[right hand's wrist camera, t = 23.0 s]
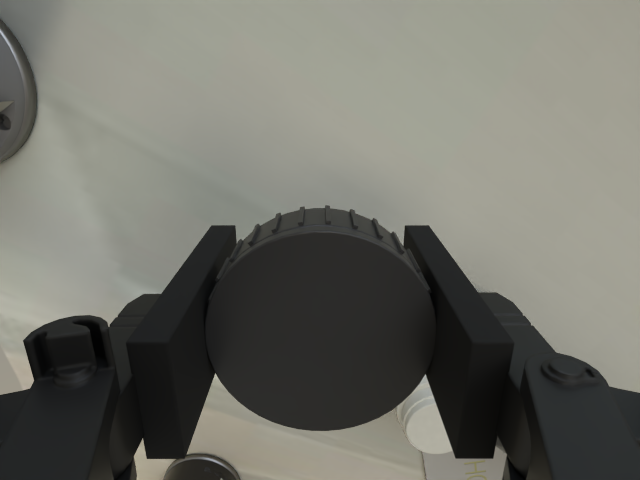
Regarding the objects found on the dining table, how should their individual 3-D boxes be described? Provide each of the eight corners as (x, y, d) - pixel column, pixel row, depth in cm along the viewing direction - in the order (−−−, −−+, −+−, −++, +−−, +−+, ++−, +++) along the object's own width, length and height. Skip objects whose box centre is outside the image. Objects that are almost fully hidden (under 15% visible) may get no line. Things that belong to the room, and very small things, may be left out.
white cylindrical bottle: (411, 314, 46) (465, 462, 28) (367, 308, 45) (393, 453, 28) (421, 274, 44) (485, 404, 26) (375, 268, 44) (409, 394, 26)
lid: (420, 382, 13) (435, 429, 11) (231, 390, 13) (218, 438, 11) (426, 199, 11) (446, 221, 9) (204, 210, 11) (183, 234, 9)
